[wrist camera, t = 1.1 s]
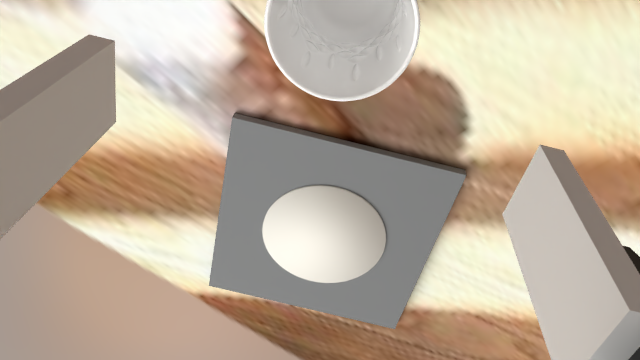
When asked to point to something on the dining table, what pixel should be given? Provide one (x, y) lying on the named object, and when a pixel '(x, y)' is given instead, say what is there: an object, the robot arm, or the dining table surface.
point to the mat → (326, 221)
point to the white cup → (342, 44)
